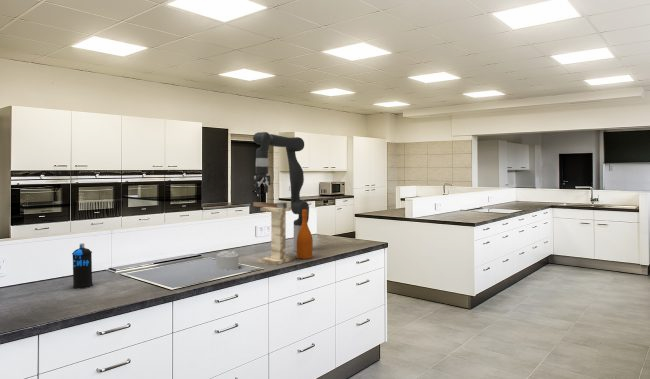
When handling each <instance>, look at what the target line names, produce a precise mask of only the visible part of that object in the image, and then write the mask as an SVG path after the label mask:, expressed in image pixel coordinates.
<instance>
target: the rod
mask: <svg viewBox="0 0 650 379" xmlns="http://www.w3.org/2000/svg"><path fill="white" fill-rule="evenodd" d="M252 204H253V207H257V208H258V207H260V208H262V207H273V208H287V207H288V206H287V205H288V203H287V202H282V201H281V202H280V201H279V202H259V201H254V202H252Z"/></svg>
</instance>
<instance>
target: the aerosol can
mask: <svg viewBox="0 0 650 379" xmlns="http://www.w3.org/2000/svg"><path fill="white" fill-rule="evenodd" d="M92 253H93V251H91V250H90V248H85V243H84V242H83V243H79V248H77V249H75V250H73V252H72V253H71V255H72V278H73V280H72V283H73V285H72V288H74V289H77V288H80V289H87V288H86V287H88V288H91V287H92V286H93V285H94V284H93V264H92V263H93V262H92ZM90 286H91V287H90Z"/></svg>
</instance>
